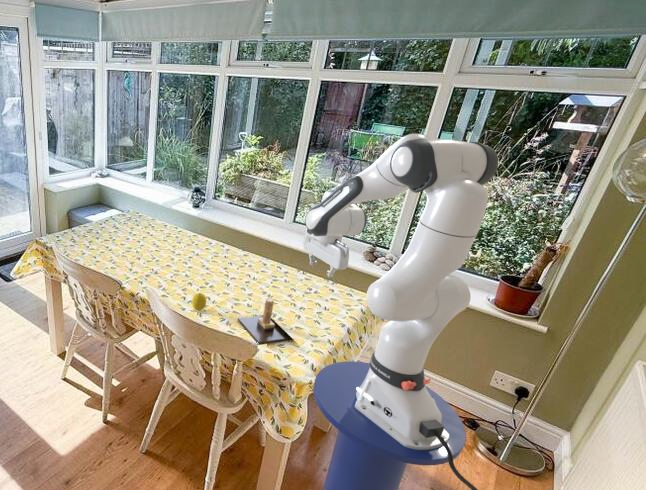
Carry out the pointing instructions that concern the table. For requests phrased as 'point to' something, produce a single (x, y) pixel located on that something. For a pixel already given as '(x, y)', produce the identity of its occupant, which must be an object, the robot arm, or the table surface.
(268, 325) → the brush
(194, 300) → the lemon
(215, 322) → the table surface
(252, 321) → the tablet
